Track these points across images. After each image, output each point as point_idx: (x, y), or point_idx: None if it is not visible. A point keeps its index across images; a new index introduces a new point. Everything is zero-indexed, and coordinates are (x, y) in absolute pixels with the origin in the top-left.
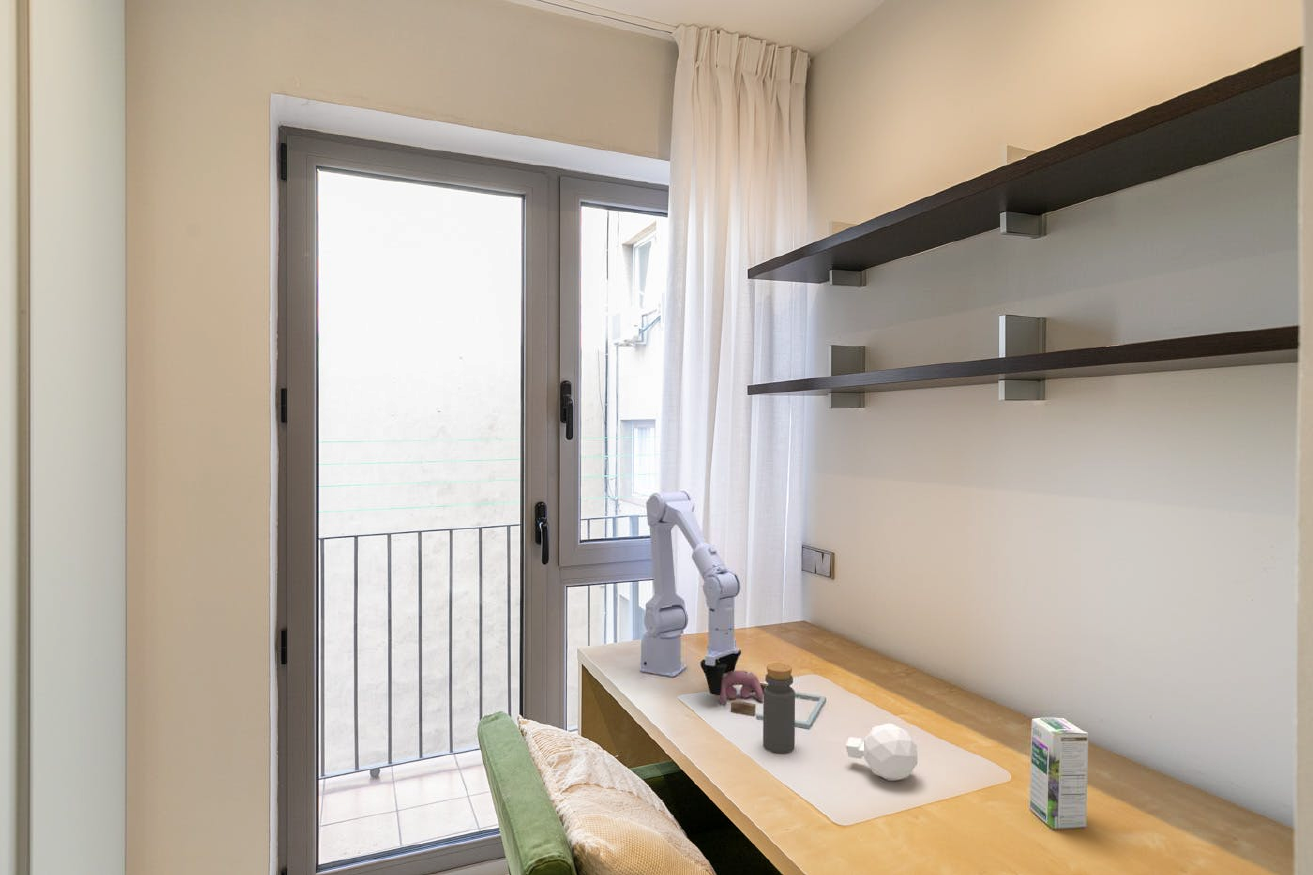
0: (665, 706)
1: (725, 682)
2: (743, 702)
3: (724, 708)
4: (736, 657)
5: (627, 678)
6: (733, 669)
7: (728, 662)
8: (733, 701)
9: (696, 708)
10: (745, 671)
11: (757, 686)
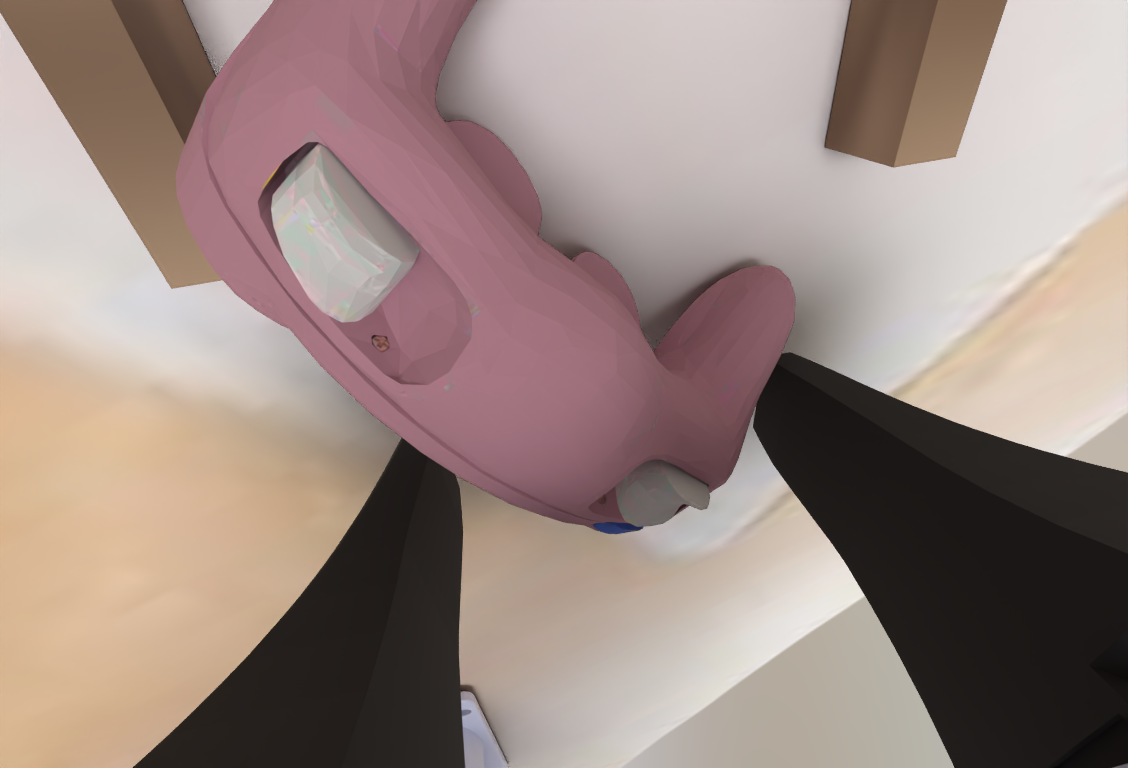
0: None
1: (714, 411)
2: None
3: (815, 229)
4: (357, 733)
5: (604, 743)
6: (406, 531)
7: (424, 670)
8: (933, 138)
9: None
10: (368, 359)
11: None
